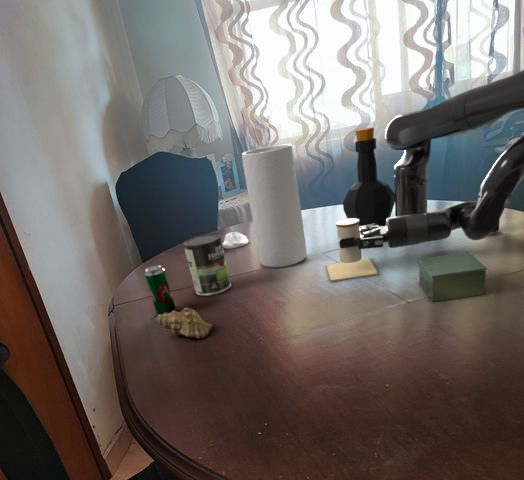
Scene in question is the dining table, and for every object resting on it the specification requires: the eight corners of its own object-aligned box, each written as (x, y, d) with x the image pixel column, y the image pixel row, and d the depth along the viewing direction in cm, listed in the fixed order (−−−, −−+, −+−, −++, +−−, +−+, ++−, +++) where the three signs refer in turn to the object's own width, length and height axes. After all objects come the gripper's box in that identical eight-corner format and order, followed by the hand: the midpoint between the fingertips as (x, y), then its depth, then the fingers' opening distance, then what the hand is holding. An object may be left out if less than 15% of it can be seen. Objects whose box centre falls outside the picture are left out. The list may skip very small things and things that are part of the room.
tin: (418, 283, 108) (418, 259, 105) (466, 276, 107) (467, 251, 104) (432, 302, 99) (432, 276, 96) (485, 294, 97) (487, 267, 95)
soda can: (158, 310, 122) (144, 267, 116) (176, 306, 122) (164, 263, 116) (155, 317, 117) (141, 273, 112) (175, 314, 117) (162, 269, 112)
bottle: (363, 217, 167) (357, 126, 153) (404, 219, 156) (402, 121, 141) (336, 230, 158) (327, 135, 144) (377, 233, 147) (372, 131, 132)
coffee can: (238, 282, 130) (228, 233, 123) (217, 297, 123) (204, 245, 116) (210, 280, 135) (198, 233, 129) (187, 294, 128) (174, 245, 121)
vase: (313, 251, 142) (300, 141, 127) (297, 268, 131) (280, 150, 116) (271, 252, 149) (254, 147, 133) (252, 269, 138) (231, 156, 123)
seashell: (181, 357, 103) (150, 324, 100) (184, 346, 111) (155, 315, 108) (213, 332, 102) (182, 297, 99) (214, 322, 109) (185, 290, 106)
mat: (326, 266, 129) (326, 264, 129) (369, 259, 128) (369, 258, 128) (330, 281, 119) (330, 280, 118) (378, 274, 117) (378, 273, 117)
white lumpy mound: (231, 227, 168) (252, 228, 163) (234, 239, 171) (254, 240, 165) (213, 236, 162) (234, 237, 156) (216, 248, 164) (236, 249, 158)
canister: (338, 257, 124) (334, 220, 120) (360, 254, 124) (357, 216, 119) (341, 264, 119) (337, 226, 115) (364, 261, 119) (361, 222, 114)
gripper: (401, 209, 121) (336, 219, 124) (411, 222, 108) (338, 233, 111) (402, 237, 124) (339, 246, 127) (412, 253, 112) (341, 263, 115)
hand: (339, 240), depth 119 cm, fingers closed on canister, 5 cm apart
